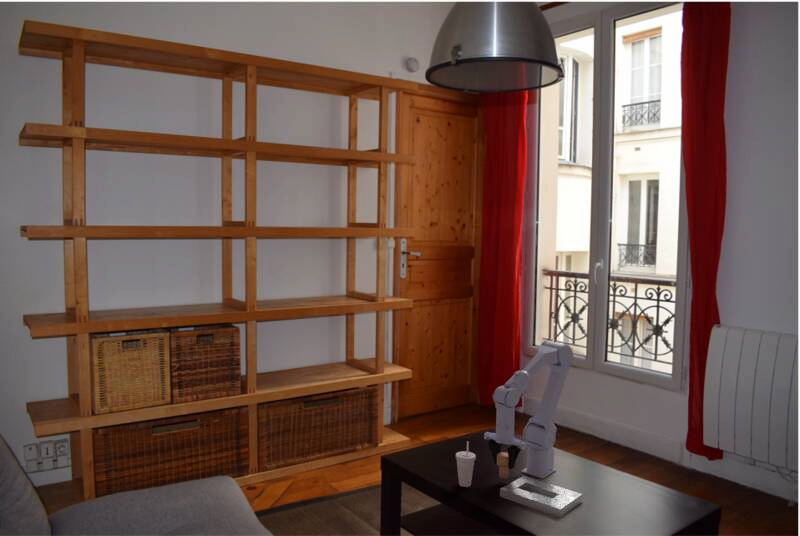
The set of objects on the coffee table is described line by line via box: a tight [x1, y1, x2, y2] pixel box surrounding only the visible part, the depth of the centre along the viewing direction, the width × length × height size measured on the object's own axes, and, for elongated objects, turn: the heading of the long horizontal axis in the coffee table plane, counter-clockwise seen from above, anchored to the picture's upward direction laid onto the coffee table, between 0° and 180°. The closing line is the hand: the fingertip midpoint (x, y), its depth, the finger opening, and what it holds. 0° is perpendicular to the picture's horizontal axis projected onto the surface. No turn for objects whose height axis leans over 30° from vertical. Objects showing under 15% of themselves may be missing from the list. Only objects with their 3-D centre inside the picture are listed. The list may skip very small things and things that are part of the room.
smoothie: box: [455, 440, 477, 488], centre depth 202 cm, size 6×6×14 cm
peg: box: [497, 452, 510, 479], centre depth 205 cm, size 5×5×7 cm
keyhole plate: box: [499, 475, 583, 518], centre depth 193 cm, size 14×20×2 cm
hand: (504, 465), depth 205 cm, fingers closed on peg, 5 cm apart
